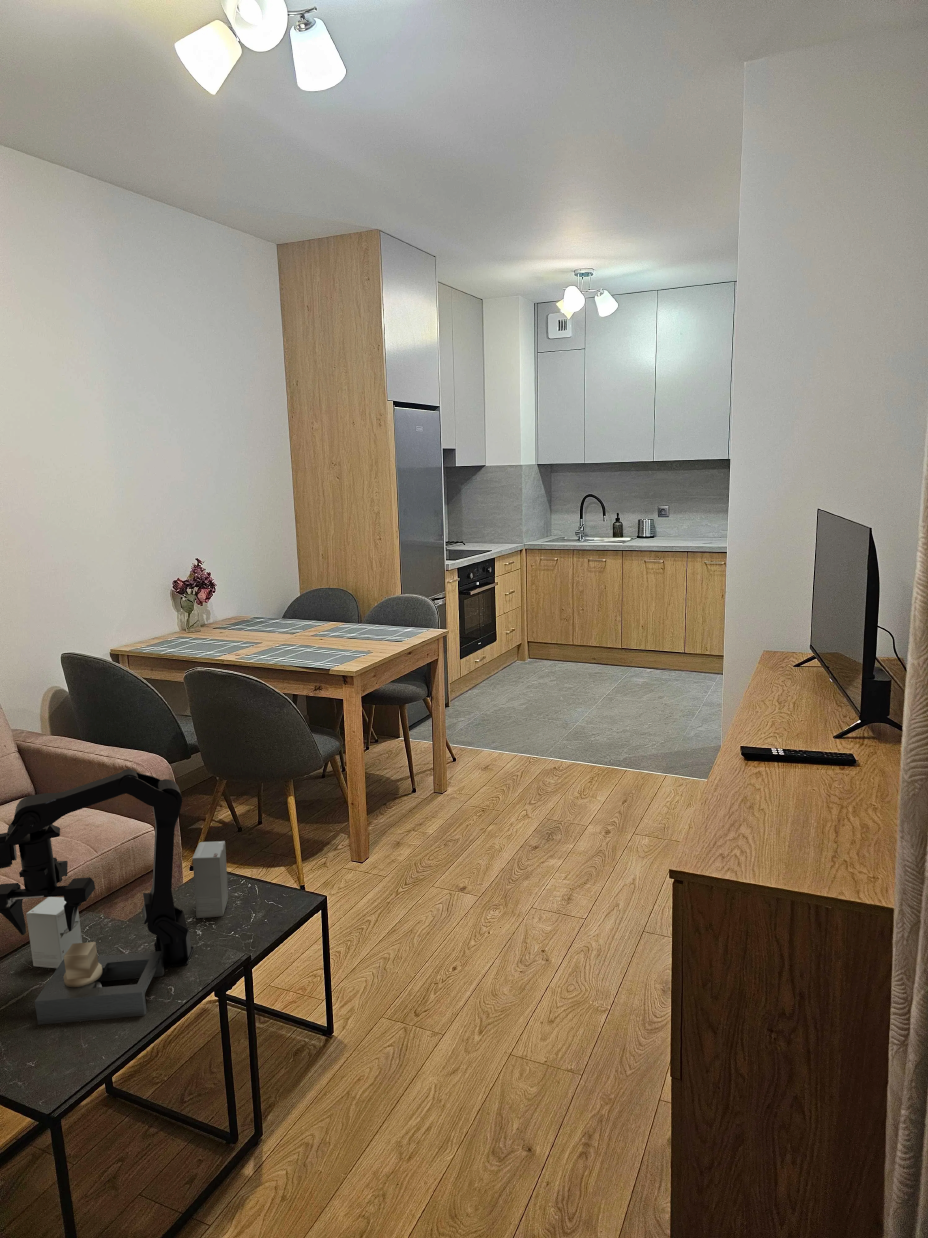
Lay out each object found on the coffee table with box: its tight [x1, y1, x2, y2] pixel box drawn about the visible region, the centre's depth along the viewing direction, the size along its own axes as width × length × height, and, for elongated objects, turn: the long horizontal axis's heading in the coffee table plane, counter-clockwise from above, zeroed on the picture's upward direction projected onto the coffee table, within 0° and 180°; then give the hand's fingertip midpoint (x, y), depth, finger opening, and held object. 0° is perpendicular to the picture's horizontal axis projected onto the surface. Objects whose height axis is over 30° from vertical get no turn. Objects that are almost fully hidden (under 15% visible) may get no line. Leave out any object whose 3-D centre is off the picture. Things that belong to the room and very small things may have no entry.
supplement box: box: [25, 896, 83, 969], centre depth 180 cm, size 7×7×13 cm
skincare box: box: [192, 840, 229, 919], centre depth 197 cm, size 8×7×16 cm
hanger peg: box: [64, 941, 103, 988], centre depth 165 cm, size 7×7×10 cm
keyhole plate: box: [34, 950, 165, 1026], centre depth 166 cm, size 20×14×5 cm
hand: (47, 932), depth 167 cm, fingers open, 9 cm apart
